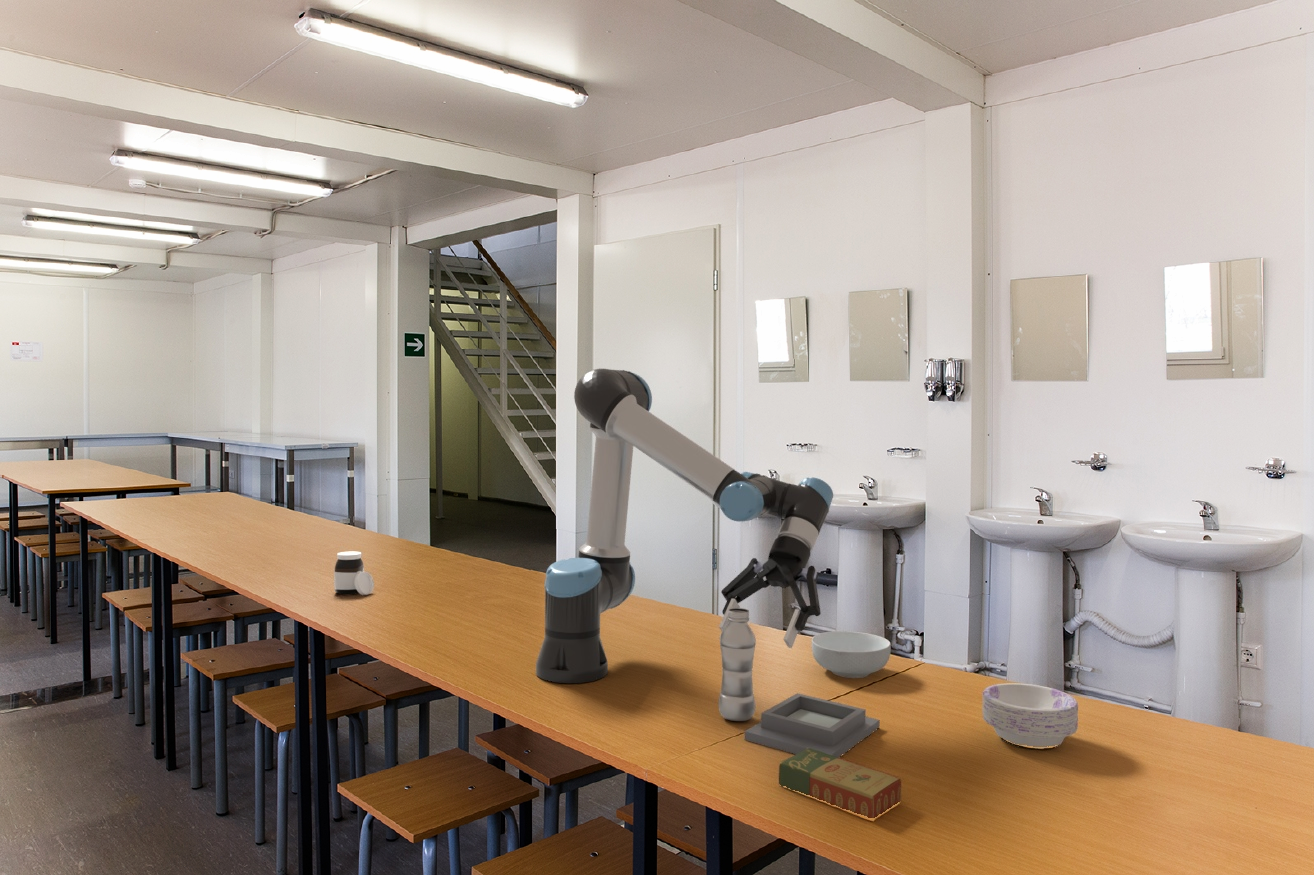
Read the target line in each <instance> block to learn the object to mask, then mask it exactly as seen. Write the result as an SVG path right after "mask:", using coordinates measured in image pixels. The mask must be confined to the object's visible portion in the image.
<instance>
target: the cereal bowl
mask: <svg viewBox="0 0 1314 875" xmlns="http://www.w3.org/2000/svg"><path fill="white" fill-rule="evenodd" d="M810 644H811V652H812V657H813V658H814V660H815V662H816V663H817V664H818V665H819V666H820V667H822V668H823V669H826V670H828V671H830V672H832V673H833V674H834V675H835V676H839V677H841V676H842V678H846V679H847V678H848V679H859V678H866V677H868V676H870V674H872V673H876V672H879V670H882V669H883V668H884V667H885V666H886V665H887V664H888V662H889V660H890V658H891V657H890V656H891V653H892V652H891V648H892V647H891V642H890V641H889V639H886V638H885V637H883V636H880V635H876V634H872V633H866V632H860V631H859V632H858V631H850V630H849V631H848V630H846V631H844V630H842V631H841V630H836V631H835V630H834V631H826V632H825V631H824V632H821V633H818V634H815V635H814V636H813V637H812V638H811V643H810Z"/></svg>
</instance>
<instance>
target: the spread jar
mask: <svg viewBox="0 0 1314 875" xmlns="http://www.w3.org/2000/svg"><path fill="white" fill-rule="evenodd" d="M336 555H337V556H336V559H337V560H336V562H335V565H334V572H333V573H334V576H333V577H334V579H333V581H334V582H333V583H334V591H335V593H336V594H337V593H339V594H338V595H342V594H351V595H356V594H355V593H357V594H360V595H361V596H367V595H370V594H372V592H373V591H374V589H375V583H374V582H375V581H374V578H373V576H372V575H371V574H370V572H368V571H365V568H364V567H365V564H364V561H363V559H362V552H361V551H353V550H350V551H342V552H337V554H336Z"/></svg>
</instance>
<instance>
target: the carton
mask: <svg viewBox="0 0 1314 875" xmlns="http://www.w3.org/2000/svg"><path fill="white" fill-rule="evenodd" d="M779 784H780V785H781V786H786V787H787V788H790V789H791V790H795V791H799V792H801V793H804V794H806V795H810V796H812V797H815V798H817V799H819V800H823V801H826V802H827V803H830V804H831V805H836V806H838V807H840V808H842V809H846V810H850V811H852V812H854V813H857V814H861V815H864V816H867V817H868V818H875V817H877V816H878V815H879V814H882V813H883V812H885V811H886V810H887V809H889V808H891V807H892V806H893V805H895V804H897V803H898V802H900V801H901V802H902V779H901V777H899V776H896V775H892V774H890V773H887V772H884V771H882V770H878V769H874V768H872V767H868V766H866V765H862V764H859V763H856V762H854V761H850V760H847V759H844V758H842V757H840V758H839V757H836V756H833V755H830V754H826V753H823V752H820V751H817V750H815V749H812V748H808V749H806V750H804V751H802V752H800V753H798V754H793V755H791V756H790V757H788V758H786V759H784V760H782V761H780V762H779V766H778V785H779Z"/></svg>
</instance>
